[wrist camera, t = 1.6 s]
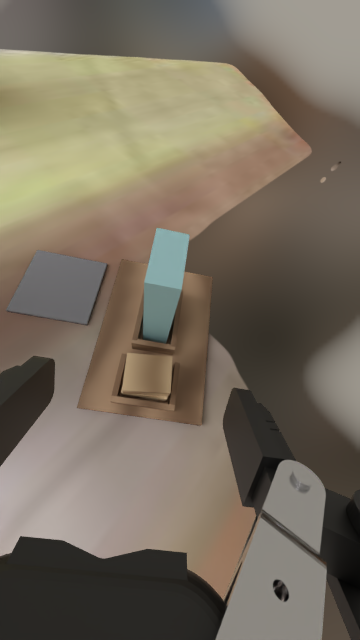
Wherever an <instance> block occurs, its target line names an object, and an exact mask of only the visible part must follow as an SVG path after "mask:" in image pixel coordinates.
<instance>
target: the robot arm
mask: <svg viewBox="0 0 360 640" xmlns="http://www.w3.org/2000/svg"><path fill="white" fill-rule="evenodd" d="M54 377H55V362H54V360H53V359H50V358H44V357H38V356H33V357H32V358H30V359H29V360H28V361H27V362H25V363H24V364H23V365H22V366H15V367H13V368H10V369H8V370H5V371H3V372H2V373H1V374H0V466H1V465H2V464H3V462H4V461H5V460H6V458H7V457H8V456H9V455H10V453H11V452H12V451H13V449H14V448H15V447H16V446H17V444H18V443H19V442H20V440H21V439H22V438H23V437H24V435H25V434H26V433H27V431H28V430H29V429H30V428H31V426H32V425H33V424H34V422H35V421H36V420H37V419H38V417H39V416H40V415H41V413H42V412H43V411H44V410H45V408H46V407H47V406H48V404H49V403H50V401H51V399H52V397H53V393H54ZM223 429H224V433H225V437H226V441H227V445H228V449H229V453H230V457H231V461H232V465H233V469H234V473H235V477H236V481H237V485H238V489H239V493H240V497H241V501H242V505H243V506H245V507H254V509H255V512H256V517H255V520H254V522H253V525H252V527H251V530H250V532H249V535H248V538H247V540H246V543H245V545H244V548H243V550H242V553H241V556H240V558H239V561H238V563H237V566H236V568H235V571H234V574H233V576H232V578H231V581H230V583H229V586H228V588H227V591H226V593H225V595H224V598H223V600H222V598H221V597H220V596H219V594H218V593H217V592H216V591H215V590H214V589H213V588H212V587H211V586H210V585H209V584H208V583H207V582H206V581H205V580H204V579H202V578H201V577H200V576H198V575H197V574H195V573H194V572H192V571H190V570H188V569H187V553H182V552H172V551H162V550H152V549H145V550H141V551H137V552H132V553H128V554H124V555H119V556H115V557H111V558H106V559H102V558H98V557H96V556H94V555H92V554H90V553H88V552H86V551H84V550H82V549H79V548H77V547H75V546H73V545H71V544H69V543H67V542H65V541H62V540H52V539H42V538H32V537H22V536H20V538H19V540H18V542H17V544H16V546H15V548H14V549H13V551H12V553H10V554H6V555H3V556H0V640H322V627H323V614H324V600H325V588H326V579H327V581H328V583H329V586H330V589H331V591H332V594H333V596H334V599H335V601H336V604H337V606H338V609H339V611H340V613H341V616H342V618H343V621H344V623H345V626H346V628H347V631H348V633H349V636H350V638H351V640H360V490H357V491H356V492H355V493H354V495H353V496H352V498H351V499H349V498H347V497H344V496H342V495H340V494H337V493H335V492H333V491H330V490H328V489H326V488H324V486H323V484H322V482H321V481H320V479H319V478H318V477H317V476H316V475H315V474H314V473H313V472H312V471H311V470H310V469H309V468H307V467H306V466H304V465H303V464H301V463H299V462H297V461H296V460H295V458H294V456H293V454H292V452H291V450H290V449H289V447H288V445H287V443H286V441H285V439H284V438H283V436H282V434H281V432H279V428H278V426H277V425H276V424H275V421H274V419H273V417H272V416H271V414H270V412H269V411H268V410H267V409H266V408H265V407H264V406H263V405H262V404H261V403H257V402H256V400H255V398H254V396H253V394H252V392H251V391H250V390H244V389H238V388H233V389H232V391H231V394H230V397H229V400H228V404H227V407H226V410H225V413H224V418H223Z"/></svg>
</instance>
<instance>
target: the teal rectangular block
mask: <svg viewBox="0 0 360 640" xmlns="http://www.w3.org/2000/svg"><path fill="white" fill-rule="evenodd" d="M188 242H189V234H184V233H179V232H174V231H170V230H165V229H160V228H157V230H156V234H155V238H154V242H153V247H152V251H151V255H150V260H149V264H148V268H147V272H146V277H145V281H144V313H143V340H147V341H153V342H158V343H164V344H166V342H167V338H168V335H169V331H170V328H171V325H172V321H173V318H174V314H175V311H176V307H177V304H178V300H179V297H180V294H181V290H182V284H183V277H184V269H185V263H186V256H187V249H188Z"/></svg>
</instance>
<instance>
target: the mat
mask: <svg viewBox="0 0 360 640" xmlns="http://www.w3.org/2000/svg"><path fill="white" fill-rule="evenodd" d="M106 268H107V263H102V262H96V261H91V260H86V259H81V258H76V257H71V256H66V255H61V254H55V253H50V252H45V251H40V250H37V252H36V254H35V256H34V257H33V259H32V261H31V263H30V265H29V267H28V269H27V271H26V273H25V275H24V277H23V279H22V280H21V282H20V284H19V286H18V288H17V290H16V292H15V294H14V296H13V298H12V300H11V302H10V303H9V305H8V307H7V309H6V310H7V311H8V312H14V313H19V314H25V315H31V316H37V317H43V318H48V319H54V320H60V321H66V322H72V323H77V324H83V325H88V322H89V319H90V316H91V313H92V310H93V307H94V304H95V301H96V298H97V295H98V292H99V289H100V286H101V283H102V280H103V277H104V274H105V271H106Z"/></svg>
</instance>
